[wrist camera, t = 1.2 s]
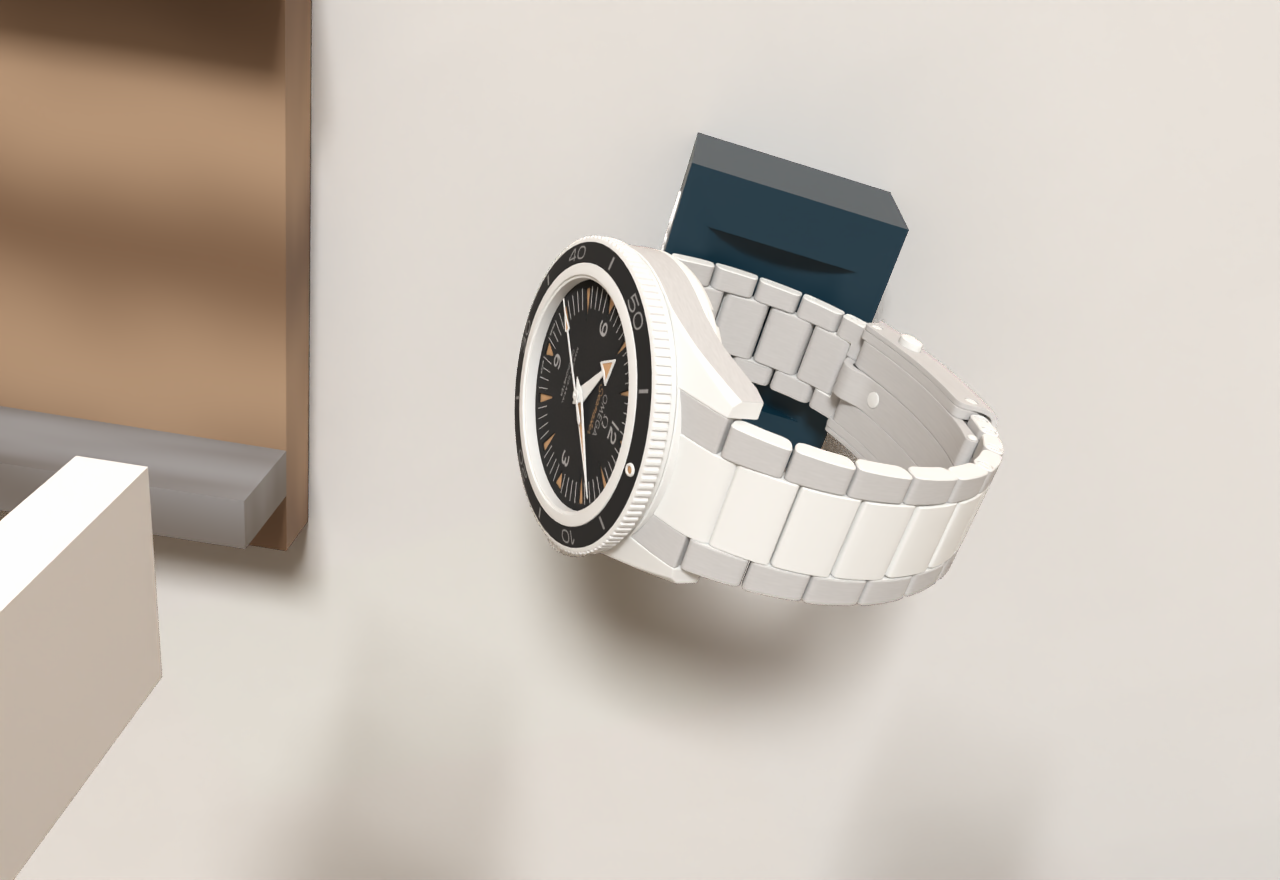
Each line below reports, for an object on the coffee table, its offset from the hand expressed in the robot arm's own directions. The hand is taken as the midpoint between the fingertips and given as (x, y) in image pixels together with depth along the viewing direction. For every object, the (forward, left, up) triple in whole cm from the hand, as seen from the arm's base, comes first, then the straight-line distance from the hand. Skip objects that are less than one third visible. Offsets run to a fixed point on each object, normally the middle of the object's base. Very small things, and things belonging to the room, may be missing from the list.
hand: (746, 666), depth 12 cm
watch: (0, 0, -15) cm, 15 cm away
